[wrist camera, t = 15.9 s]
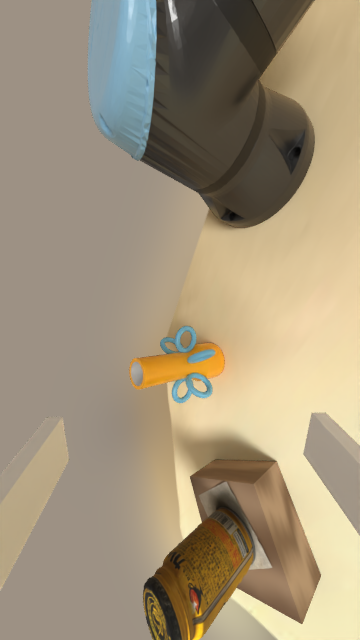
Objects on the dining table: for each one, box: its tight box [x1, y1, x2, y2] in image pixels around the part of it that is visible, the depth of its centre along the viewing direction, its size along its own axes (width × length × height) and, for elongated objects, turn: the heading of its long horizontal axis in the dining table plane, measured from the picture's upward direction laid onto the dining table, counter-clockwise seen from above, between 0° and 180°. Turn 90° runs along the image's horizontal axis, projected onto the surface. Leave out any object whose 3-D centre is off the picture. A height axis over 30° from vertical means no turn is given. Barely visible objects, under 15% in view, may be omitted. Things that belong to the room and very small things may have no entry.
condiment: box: [143, 482, 272, 640], centre depth 23 cm, size 7×8×12 cm
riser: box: [190, 460, 321, 624], centre depth 29 cm, size 12×12×6 cm
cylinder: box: [129, 326, 225, 403], centre depth 32 cm, size 12×10×15 cm
